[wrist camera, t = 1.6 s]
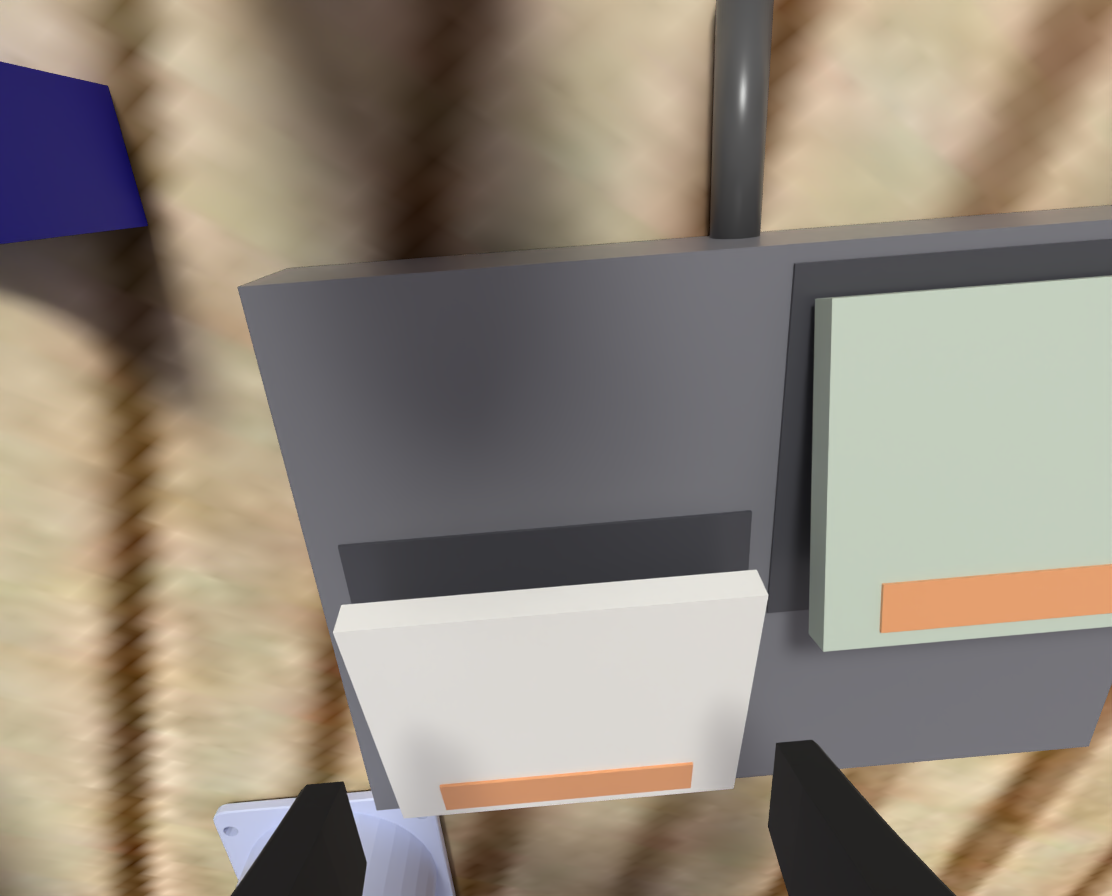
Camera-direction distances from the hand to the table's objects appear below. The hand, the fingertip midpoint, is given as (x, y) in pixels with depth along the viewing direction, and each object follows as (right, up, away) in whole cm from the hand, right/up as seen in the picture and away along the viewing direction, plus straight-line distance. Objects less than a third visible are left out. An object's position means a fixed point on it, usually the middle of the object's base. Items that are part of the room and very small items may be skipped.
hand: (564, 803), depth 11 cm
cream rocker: (0, -1, +6) cm, 6 cm away
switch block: (+5, +7, +8) cm, 11 cm away
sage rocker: (+11, +6, +4) cm, 12 cm away
